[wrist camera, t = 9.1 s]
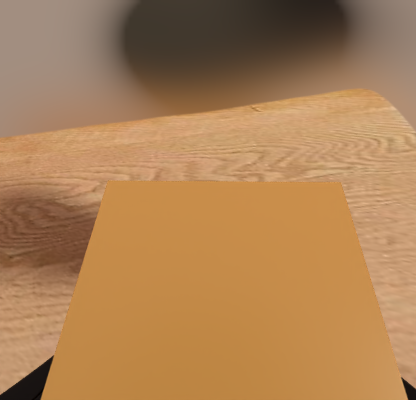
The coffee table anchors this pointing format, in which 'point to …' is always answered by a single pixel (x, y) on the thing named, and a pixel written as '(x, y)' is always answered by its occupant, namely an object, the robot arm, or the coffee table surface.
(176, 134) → the coffee table surface
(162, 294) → the tall amber pillar
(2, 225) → the coffee table surface
